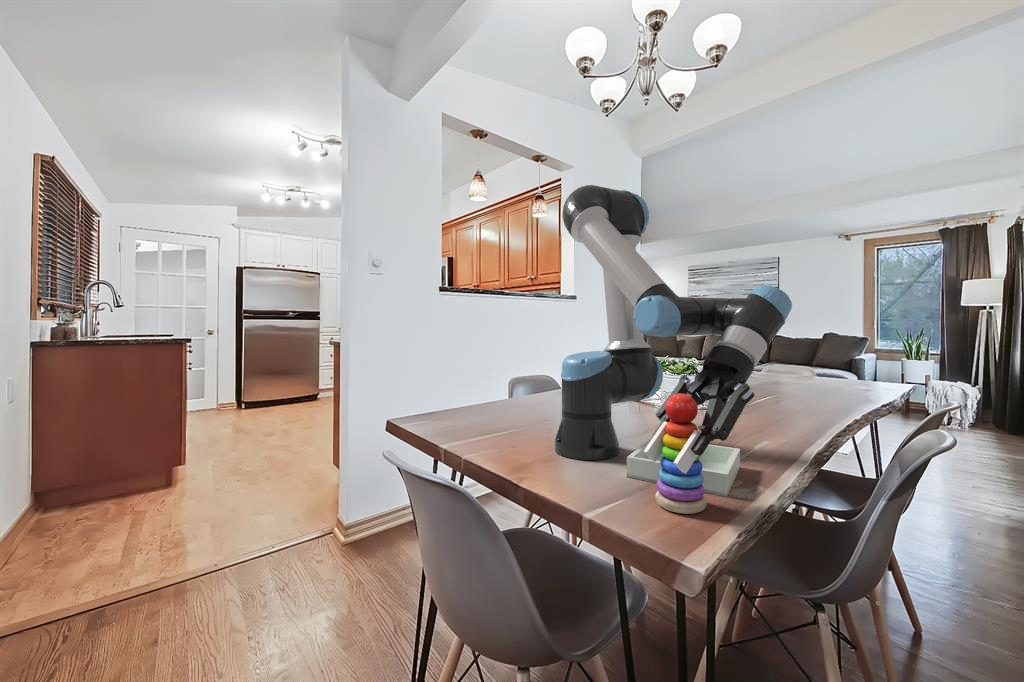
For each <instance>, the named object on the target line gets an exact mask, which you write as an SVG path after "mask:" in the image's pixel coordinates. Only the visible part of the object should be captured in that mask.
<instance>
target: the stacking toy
mask: <svg viewBox="0 0 1024 682" xmlns="http://www.w3.org/2000/svg"><path fill="white" fill-rule="evenodd" d="M698 407H699V405H698V406H697V403H696V401H695V400H694V399H693V398H692V397H691V396H689V395H687V394H675V395H672V396H671V397H670V398H669V399H668V400H667V402H666V405H665V411H666V414H667V416H668V417H669V419H670V420H672V421H670V422H668V423H667V424H666V426H665V429H666V432H667V434H666V435H664V437H663V443H664V444H665V446H663V448H662V454H663V456H664V457H662V459H661V461H660V464H661V467H662V468H661V469H660V471H659V477H660V479H659V480H658V482H657V483H656V489H657V491H656V493H655V500H656V503H657V504H658V505H659V506H660V507H661V508H663V509H665V510H667V511H669V512H674V513H677V514H684V515H685V514H687V515H692V514H693V515H694V514H698V513H701V512H702V511H704V510H705V509H706V508H707V503H708V502H707V499H706V497H705V490H704V487H703V485H702V484H703V481H704V476H703V474H702V473H701V471H702V467H703V466H702V463H701V461H700V460H698V459H699V458H700V456H699V455H698V456H697V457H696V459H695V461H694V462H693V464H692V465H691V467H690V468H689V470H688V471H687V473H686V474H685V473H682V472H681V471H680V469H679V468H678V467H677V466H676V465H675V464H674V461H675V459H676V458H677V456H678V455H679V453H680V452H681V450H682V448H683V447H684V445H685V444H686V442H687V441H688V439H689V438H690V436H691V435H692V433H693V432H694V430H698V429H699V428H698V426H697V425H696V424H695V423H693V421H694V420H695V419H696V417H697V415H698V413H699V409H698ZM698 431H699V430H698Z"/></svg>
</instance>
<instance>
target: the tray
mask: <svg viewBox="0 0 1024 682" xmlns="http://www.w3.org/2000/svg"><path fill="white" fill-rule="evenodd" d="M652 438H653V437H651V438H649V439H648V440H647V441H646V442H644V443H643V444H642V445H640V446H639V447H637V449H635V450H634V451H632V453H630V454H629V455H627V456H626V478H629V479H635V480H640V481H644V482H645V481H646V482H650V483H655V484H657V482H658V480H659V479H660V477H659V471H660V469H661V468H662V467H661V464H660V461H661V459H662V457H664V456H663V454H662V453H661V454H660V456H659V457H658V459H657V460H656V461H655V462H654V461H652V460H651V459H650V458H649V457H648V456H647V454H646V453H645V452H644V450H645V448H646V447H647V445H648V444H649V443H650V441H651V440H652ZM698 460H700V461H701V463H702V466H703V467H702V471H701V473H702V474H703V476H704V481H703V484H702V485H703V487H704V490H705V493H706V494H710V495H716V496H720V497H726V498H728V497H729V494H730V492H731V490H732V487H733V485H734V482H735V480H736V477H737V476H738V473H739V471H740V468H741V448H738V447H737V448H736V447H729V446H723V445H715V444H709V445H708V446H707V448H706V450H705V451H704V453H703V454H702V455H701V456H700V458H699V459H698ZM705 493H704V494H705Z"/></svg>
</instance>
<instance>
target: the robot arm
mask: <svg viewBox="0 0 1024 682" xmlns="http://www.w3.org/2000/svg"><path fill="white" fill-rule="evenodd" d="M649 211H650V210H649V208H648V205H647V202H646V201H645V200H644V198H643V197H641V195H639V194H637V193H634V192H632V191H628V190H624V189H622V190H619V189H614V188H610V187H605V186H599V185H594V184H589V185H581V186H579V187H578V188H576V189H574V190H573V191H572V192H571V193H570V194H568V197H567V198H566V200H565V201H564V204H563V208H562V220H563V225H564V227H565V229H566V231H567V232H568V233H569V235H570V236H571V238H573V240H574V241H575V242H577V243H581V244H583V246H584V247H586V249H587V250H588V252H589V253H591V255H592V257H594V258H595V260H596V261H597V263H598V264H599V265H600V266H601V267H602V271H603V272H602V273H603V274H602V275H603V283H604V296H605V297H604V298H605V308H606V309H605V311H606V321H607V334H608V336H607V337H608V344H607V345H606V346H605V348H603V350H592V351H584V352H583V351H582V352H576V353H572V354H568V355H566V356H565V358H563V360H562V362H561V363H562V364H561V373H560V378H561V419H560V422H559V426H558V429H557V433H556V434H555V439H554V451H555V453H557V454H558V455H560V456H563V457H565V458H570V459H574V460H575V459H576V460H584V461H585V460H587V461H597V460H598V461H600V460H606V459H610V458H611V459H612V458H614V457H617V456H618V455H619V453H620V443H619V438H618V436H617V433H616V428H615V427H614V426H615V425H614V423H613V420H612V405H615V404H623V403H630V402H637V403H638V402H641V401H643V400H647V399H650V398H652V397H654V396H656V394H657V392H658V391H659V390H660V388H661V386H662V384H663V381H664V380H663V379H664V371H663V367H662V363H661V361H658V358H657V357H656V356H654V355H652V349H651V348H652V346H651V345H650V344H648V343H647V342H646V341H645V340H644V335H645V336H648V337H657V338H669V337H680V336H687V337H688V336H690V337H691V336H720V337H719V338H718V339H717V341H716V342H715V343H714V345H713V347H712V348H711V350H710V351H709V353H708V354H707V355H706V357H705V358H704V360H703V362H702V364H703V365H702V369H701V371H699V372H698V373H697V374H696V375H695V376H693V377H688V376H687V374H682V375H680V377H679V380H678V383H677V384H676V386H675V387H674V388H673V390H672V391H671V392H670V394H669V395H668V396H667V398H666V399H665V400H664V402H663V403H662V404H661V405H660V407H659V408H658V409H657V411H656V412H655V417H656V418H657V419H658V420H659V421H660V423H659V424H658V425H657V427H656V429H655V430H654V432H653V433H652V435H651V436H652V437H653V438H652V437H651V438H652V440H651V441H650V443H649V444H648V445H647V447H646V448H645V450H644V452H645V453H646V454H647V456H648V457H649V458H650V459H651V460H652V461H654V462H655V461H656V460H657V459H658V457H659V456H660V454H661V453H662V448H663V446H665V444H664V443H663V437H664V435H666V434H667V432H666V429H665V426H666V424H667V423H668V422H670V421H672V420H671V419H669V417H668V416H667V414H666V411H665V405H666V402H667V400H668V399H669V398H670V397H671V396H672V395H675V394H687V395H689V396H691V397H692V398H693V399H694V400H695V401H696V403H697V406H698V407H699V405H701V406H702V405H704V403H706V401H708V404H707V406H706V411H705V414H704V417H703V420H702V424H701V425H698V426H697V429H699V430H700V431H699V430H694V432H693V433H692V435H691V436H690V438H689V439H688V441H687V442H686V444H685V445H684V447H683V448H682V450H681V452H680V453H679V455H678V456H677V458H676V459H675V461H674V464H675V465H676V466H677V467H678V468H679V469H680V471H681V472H682V473H685V474H686V473H687V471H688V470H689V468H690V467H691V465H692V464H693V462H694V461H695V459H696V457H697V456H698V455H699V456H701V455H702V454H703V453H704V451H705V450H706V448H707V446H708V445H710V443H711V442H714V441H715V440H720V441H722V442H723V441H724V442H725V441H726V440H727V439H728V438H729V436H730V434H731V432H732V430H733V428H734V426H735V425H736V423H737V422H738V419H739V418H740V416H741V415H742V412H743V410H744V409H745V407H746V405H747V404H748V403H749V402H750V401H751V400H752V399H753V398H755V396H756V395H755V393H754V392H753V390H752V389H751V387H750V385H749V384H748V383H747V381H748V380H749V378H750V377H751V375H752V374H753V372H754V369H755V367H757V365H758V364H759V362H760V360H761V359H762V358H763V356H764V355H765V353H766V351H767V350H768V348H769V346H770V344H771V342H772V341H773V340H774V338H775V337H776V335H777V334H778V332H779V331H780V330H781V328H782V327H783V326H784V325H785V323H786V321H787V318H788V317H789V315H790V312H791V311H792V307H793V303H792V300H791V298H790V296H789V295H788V294H787V293H786V292H785V291H784V290H782V289H780V288H778V287H776V286H772V285H760V286H757V287H755V288H754V289H752V290H751V292H749V293H748V294H747V297H735V298H734V297H733V298H729V297H726V298H725V297H724V298H723V297H704V296H702V297H701V296H699V297H691V296H688V297H687V296H679V295H677V294H676V293H675V291H673V290H672V289H671V288H670V286H668V285H667V283H666V282H665V281H664V280H663V278H661V277H660V276H659V274H658V273H657V272H656V271H655V270H654V269H653V267H651V265H649V263H648V262H647V261H646V260H645V259H644V258H643V257H642V256H641V255H640V254H639V252H638V251H637V246H638V245H639V244H640V243H641V242H642V235H643V234H644V233H645V231H646V230H647V227H646V226H648V225H649V220H650V213H649Z"/></svg>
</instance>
